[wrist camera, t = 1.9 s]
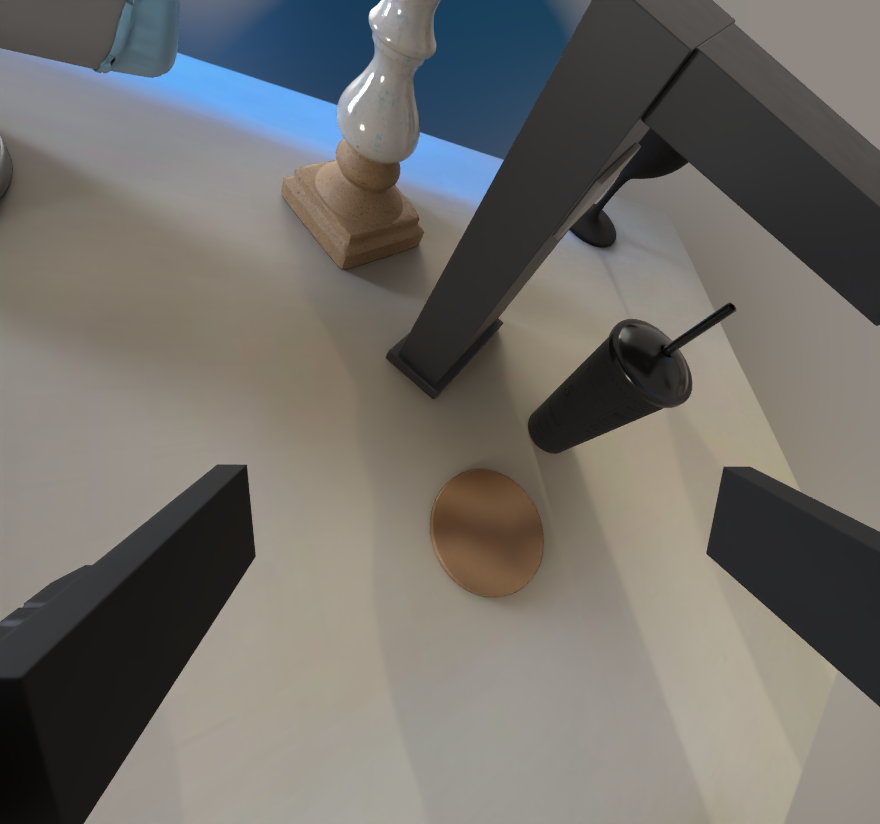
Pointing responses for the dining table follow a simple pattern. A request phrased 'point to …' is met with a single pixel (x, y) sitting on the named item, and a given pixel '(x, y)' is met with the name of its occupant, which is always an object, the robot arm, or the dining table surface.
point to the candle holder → (371, 146)
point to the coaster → (486, 533)
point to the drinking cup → (618, 384)
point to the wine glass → (644, 164)
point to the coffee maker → (689, 133)
